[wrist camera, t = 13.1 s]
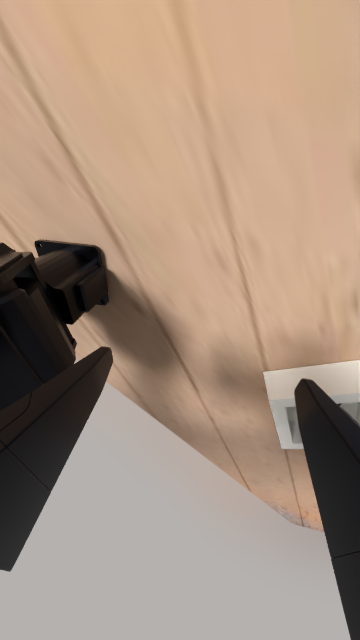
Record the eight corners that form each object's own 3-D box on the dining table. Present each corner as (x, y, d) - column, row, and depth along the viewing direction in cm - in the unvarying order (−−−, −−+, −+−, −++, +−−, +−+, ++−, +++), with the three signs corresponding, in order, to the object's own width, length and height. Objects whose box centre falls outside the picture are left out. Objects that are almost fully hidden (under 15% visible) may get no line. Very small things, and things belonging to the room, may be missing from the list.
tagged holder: (276, 422, 32) (282, 450, 29) (263, 371, 26) (268, 400, 23) (365, 418, 28) (384, 450, 25) (373, 358, 22) (398, 389, 19)
